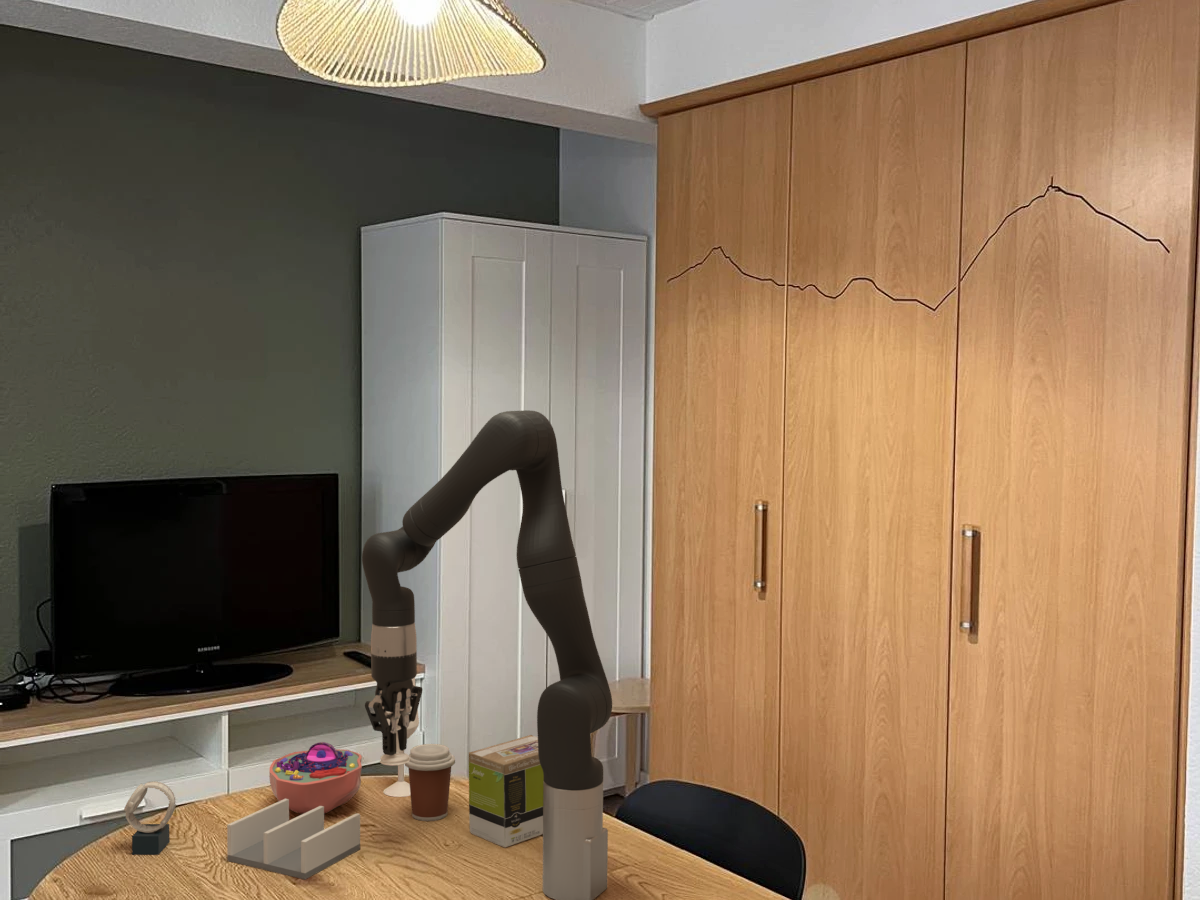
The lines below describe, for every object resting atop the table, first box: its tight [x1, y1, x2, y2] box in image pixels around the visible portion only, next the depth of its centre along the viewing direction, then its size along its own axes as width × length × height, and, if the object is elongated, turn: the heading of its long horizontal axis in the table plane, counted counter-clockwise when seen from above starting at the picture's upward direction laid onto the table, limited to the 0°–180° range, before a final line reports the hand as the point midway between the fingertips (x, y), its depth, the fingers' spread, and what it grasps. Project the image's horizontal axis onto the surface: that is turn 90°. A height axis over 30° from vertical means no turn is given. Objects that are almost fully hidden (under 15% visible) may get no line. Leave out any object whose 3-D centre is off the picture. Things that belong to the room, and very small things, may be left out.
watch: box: [123, 780, 177, 856], centre depth 203 cm, size 6×8×11 cm
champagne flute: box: [382, 677, 420, 798], centre depth 232 cm, size 7×7×24 cm
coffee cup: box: [404, 743, 456, 822], centre depth 220 cm, size 9×9×12 cm
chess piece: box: [379, 712, 410, 766], centre depth 205 cm, size 5×5×10 cm
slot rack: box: [226, 799, 361, 880], centre depth 201 cm, size 16×14×6 cm
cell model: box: [268, 741, 363, 815], centre depth 223 cm, size 17×20×11 cm
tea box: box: [468, 734, 544, 848], centre depth 213 cm, size 15×10×15 cm, turn 135°
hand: (395, 751), depth 205 cm, fingers closed on chess piece, 2 cm apart
